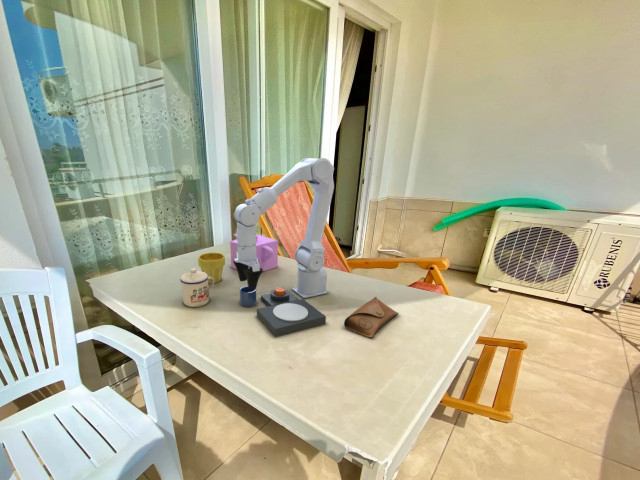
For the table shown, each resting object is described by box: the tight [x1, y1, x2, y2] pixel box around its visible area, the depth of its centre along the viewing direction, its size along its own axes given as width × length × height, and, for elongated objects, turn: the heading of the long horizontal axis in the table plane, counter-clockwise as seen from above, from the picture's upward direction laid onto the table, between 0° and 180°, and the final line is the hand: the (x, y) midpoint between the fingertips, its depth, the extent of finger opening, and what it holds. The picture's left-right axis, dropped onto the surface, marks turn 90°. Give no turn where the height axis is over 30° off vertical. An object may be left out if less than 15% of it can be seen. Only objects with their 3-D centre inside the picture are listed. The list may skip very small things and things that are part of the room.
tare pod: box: [260, 289, 300, 307], centre depth 100 cm, size 10×8×3 cm
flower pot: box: [197, 251, 226, 284], centre depth 117 cm, size 10×10×10 cm
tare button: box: [274, 287, 286, 295], centre depth 99 cm, size 3×3×2 cm
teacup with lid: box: [179, 267, 215, 308], centre depth 101 cm, size 12×9×12 cm
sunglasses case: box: [343, 296, 400, 338], centre depth 86 cm, size 18×7×7 cm
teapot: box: [229, 233, 279, 272], centre depth 129 cm, size 15×25×14 cm, turn 38°
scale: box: [256, 298, 327, 338], centre depth 88 cm, size 16×12×3 cm
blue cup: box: [239, 285, 257, 308], centre depth 99 cm, size 5×5×5 cm
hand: (247, 284), depth 97 cm, fingers open, 7 cm apart
